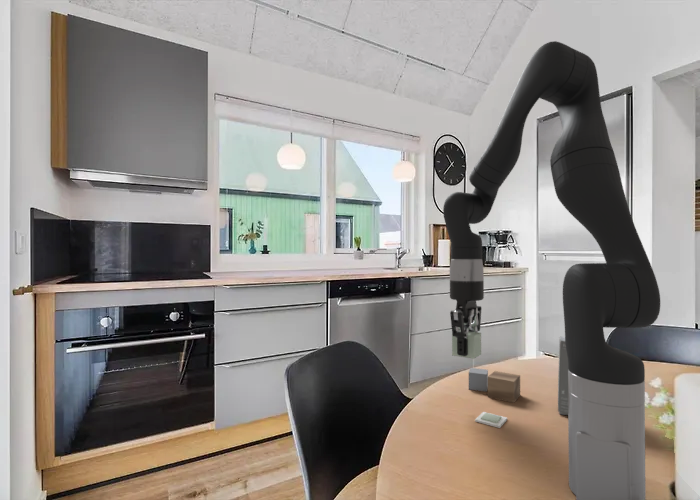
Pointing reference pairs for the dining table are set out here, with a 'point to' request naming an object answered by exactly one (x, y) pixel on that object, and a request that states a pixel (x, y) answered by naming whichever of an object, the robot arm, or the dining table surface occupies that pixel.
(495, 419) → the tile
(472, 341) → the sage block
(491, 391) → the walnut block
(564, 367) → the skincare box
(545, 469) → the dining table surface
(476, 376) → the slate block
